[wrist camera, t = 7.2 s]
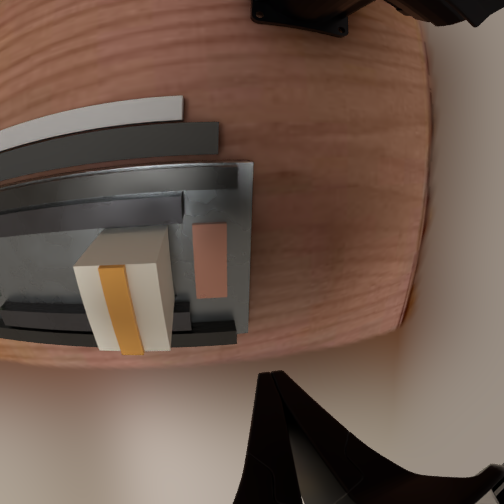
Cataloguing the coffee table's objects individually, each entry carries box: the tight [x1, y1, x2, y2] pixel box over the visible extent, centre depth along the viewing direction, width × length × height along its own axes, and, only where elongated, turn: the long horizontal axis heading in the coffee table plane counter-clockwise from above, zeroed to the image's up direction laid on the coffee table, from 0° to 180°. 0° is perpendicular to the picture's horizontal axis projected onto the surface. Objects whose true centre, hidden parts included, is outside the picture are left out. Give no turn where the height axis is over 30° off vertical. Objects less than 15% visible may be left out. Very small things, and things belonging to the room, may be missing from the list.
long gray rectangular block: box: [0, 96, 219, 181], centre depth 13 cm, size 20×3×2 cm, turn 88°
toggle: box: [73, 225, 175, 355], centre depth 14 cm, size 4×5×5 cm
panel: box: [0, 160, 253, 347], centre depth 16 cm, size 24×12×3 cm, turn 88°
